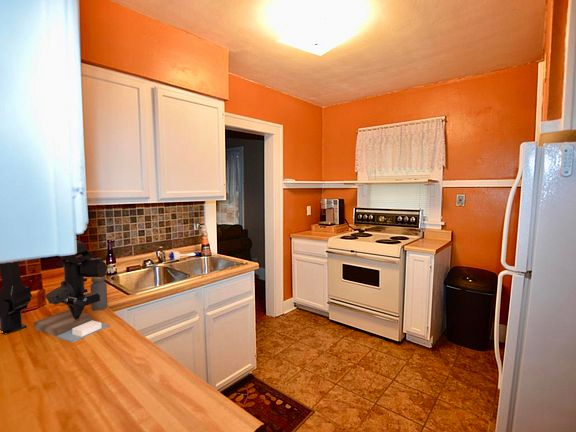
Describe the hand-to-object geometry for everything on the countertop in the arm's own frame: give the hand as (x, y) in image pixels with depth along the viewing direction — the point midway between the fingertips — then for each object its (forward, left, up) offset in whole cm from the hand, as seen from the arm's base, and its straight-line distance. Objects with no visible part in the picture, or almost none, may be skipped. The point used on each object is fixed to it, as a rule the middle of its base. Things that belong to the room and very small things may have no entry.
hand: (76, 319), depth 107 cm
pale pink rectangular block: (+6, 0, -1) cm, 6 cm away
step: (-7, 0, -4) cm, 8 cm away
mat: (+4, 0, -4) cm, 6 cm away
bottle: (-12, +17, -4) cm, 21 cm away
